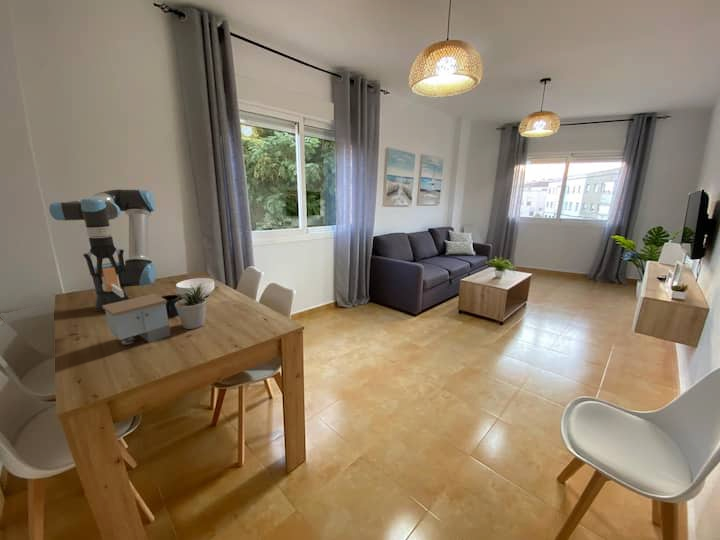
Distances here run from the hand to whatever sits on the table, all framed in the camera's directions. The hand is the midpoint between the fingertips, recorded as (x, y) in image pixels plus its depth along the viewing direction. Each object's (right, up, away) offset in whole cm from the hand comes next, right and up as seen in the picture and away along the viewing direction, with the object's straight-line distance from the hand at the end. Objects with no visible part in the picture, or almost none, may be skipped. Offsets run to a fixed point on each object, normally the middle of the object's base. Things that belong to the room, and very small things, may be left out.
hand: (112, 289), depth 130 cm
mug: (+15, -15, +17) cm, 27 cm away
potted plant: (+33, -18, +6) cm, 38 cm away
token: (+15, -21, -9) cm, 28 cm away
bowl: (+13, -7, +45) cm, 47 cm away
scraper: (+5, -1, -3) cm, 6 cm away
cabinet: (+18, -21, -6) cm, 28 cm away
